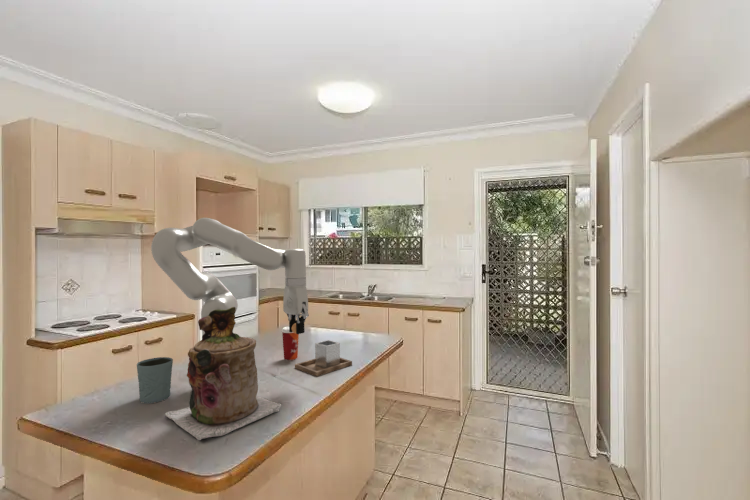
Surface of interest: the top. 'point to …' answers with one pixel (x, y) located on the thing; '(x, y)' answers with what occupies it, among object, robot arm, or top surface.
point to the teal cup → (154, 379)
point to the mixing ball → (294, 328)
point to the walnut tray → (317, 371)
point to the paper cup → (290, 344)
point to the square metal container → (327, 354)
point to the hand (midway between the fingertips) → (296, 332)
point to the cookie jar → (221, 381)
